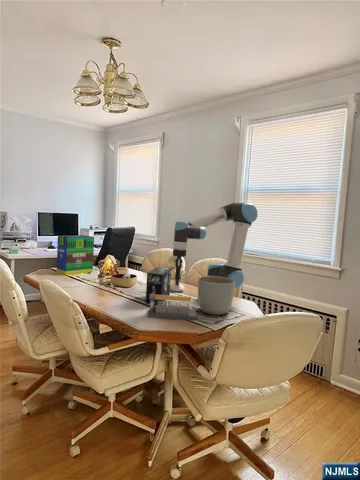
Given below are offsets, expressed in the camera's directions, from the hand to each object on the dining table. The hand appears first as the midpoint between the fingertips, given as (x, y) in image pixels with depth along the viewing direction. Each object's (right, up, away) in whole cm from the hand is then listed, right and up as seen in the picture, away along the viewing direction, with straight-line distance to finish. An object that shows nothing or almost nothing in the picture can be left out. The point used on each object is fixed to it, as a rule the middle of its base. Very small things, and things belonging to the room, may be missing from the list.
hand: (176, 290), depth 194 cm
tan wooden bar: (-3, -4, -9) cm, 11 cm away
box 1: (-85, +1, +87) cm, 122 cm away
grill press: (-2, -12, -9) cm, 15 cm away
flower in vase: (-1, -8, +48) cm, 49 cm away
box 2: (-12, -9, +20) cm, 25 cm away
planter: (+21, -13, +2) cm, 25 cm away
